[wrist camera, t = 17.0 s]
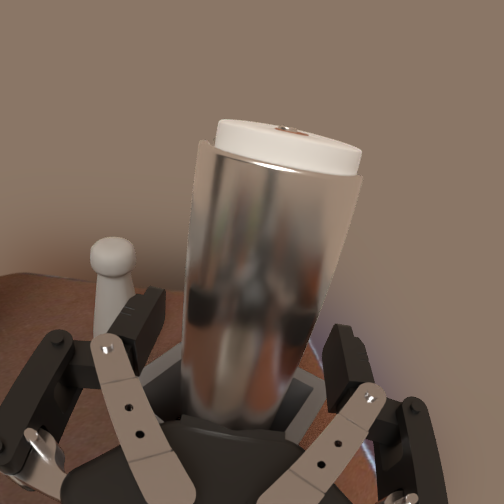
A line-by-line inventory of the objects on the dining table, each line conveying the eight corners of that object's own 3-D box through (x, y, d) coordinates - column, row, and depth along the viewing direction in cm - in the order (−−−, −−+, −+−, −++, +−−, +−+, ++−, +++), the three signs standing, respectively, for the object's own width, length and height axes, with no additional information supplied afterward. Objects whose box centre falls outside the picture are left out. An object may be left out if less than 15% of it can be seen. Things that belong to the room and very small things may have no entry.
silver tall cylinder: (219, 408, 26) (274, 120, 15) (269, 450, 23) (391, 154, 11) (166, 442, 22) (168, 110, 10) (217, 493, 18) (318, 142, 7)
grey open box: (124, 444, 20) (107, 392, 16) (205, 378, 29) (213, 318, 25) (232, 526, 16) (253, 505, 12) (300, 436, 25) (333, 385, 21)
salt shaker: (122, 376, 27) (108, 268, 21) (86, 348, 29) (68, 243, 23) (156, 346, 32) (157, 243, 26) (120, 323, 33) (115, 224, 28)
